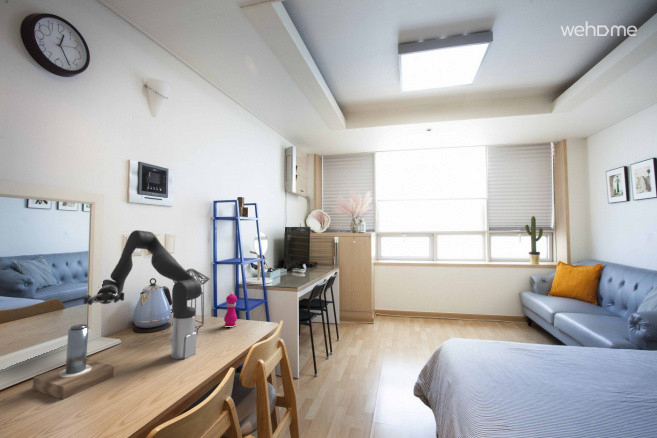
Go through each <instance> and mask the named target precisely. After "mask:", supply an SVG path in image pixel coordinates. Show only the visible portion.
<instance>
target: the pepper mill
mask: <svg viewBox="0 0 657 438" xmlns="http://www.w3.org/2000/svg"><path fill="white" fill-rule="evenodd" d="M225 301H226V307H227V310H226V313H225V315H224V317H223V321H224V322H225V323H224V327H225V326H234V325H236V326H237V320H238V316H237V313H236V311H235V310H236V308H235V307H236V304H237V303H236V302H237V301H238V299H237V295H235V294H234V292H233V291H231V292H230V294H228V295H227V296H226V298H225Z"/></svg>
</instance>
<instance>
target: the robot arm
mask: <svg viewBox="0 0 657 438" xmlns="http://www.w3.org/2000/svg"><path fill="white" fill-rule="evenodd" d="M136 249H138V250H139V249H141V250H147V251H149V252H150V254H151V255H152V256H151V260H150V261H151V263H150V264H151V266H152V267H153V268H154V269H155V271H156V272H157V273H159V275H161V276H163V277H164V278H166V279H169V280H172V281H173V280H174V281H176V283H174V284H173V286H172V290H171V291H172V292H171V309H172V316H173V317H172V321H173V326H171V327H172V329H171V330H172V331H171V346H170V347H171V348H170V357H171V358H172V359H175V360H176V359H177V360H178V359H179V360H180V359H188V358H189V357H191V356H194V355H196V351H197V336H198V335H197V334H198V333H196V332H195V331H196V328H195V327H196V321H195V320H197V308H196V309H195V307H193V306H192V307H191V306H188V301H191V300H192V301H193V300H195V299H196V300H197V299H198V298H199V297H200V296H201V293H202V292H203V287H202V285H200V284H201V283H200V282H198V280H197V278H196V277H195V276H194V277H193V276H192V274H191V273H190V274H189V273H188V272H187V271H186V270H187V269H185V268H184V267H183V266H182V265H181V264H179V262H178V261H177V260H176V258H174V256H172V255H171V253H169V251H168V250H167V248H165V247H164V245H162V243H161V242H160V240H159V239H158V237H157V235H156V234H155V233H153V232H152V231H146V230H137V229H135V230H132V231H131V233H130V234H129V235H128V237H127V240H126V243H125V245H124V248H123V250H122V252H121V255H120V258H119V260H118V262H117V264H116V265H115V267H114V269H113V270H112V272H111V274H110V279H104V280H102V281H103V284H102V288H101V289H100V290H99V291H97V294H94V295H93V296H92V295H91V294H88V295H87V294H86V296H84V297H83V304H84V305H86V304H87V305H89V306H92V304H101V305H102V304H103V305H107V304H111V303H112V302H113V303H115V304H116V303H117V302H119V301H125V292H123V291H124V285H125V282H126V280H127V278H128V276H129V274H130V272H131V271H132V269H133V254H134V251H135V250H136Z"/></svg>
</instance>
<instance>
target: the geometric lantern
mask: <svg viewBox="0 0 657 438" xmlns="http://www.w3.org/2000/svg"><path fill="white" fill-rule="evenodd" d="M185 270H186V271H187V272H188V273H189V274H190V275H192V276H193V277H194V278H195V279H196V280H197V281H198V282H199V283H200V285H201V286H202V293H201V295H200V296H201V297H200V301H201V303H200V304H201V307H200V308H201V321H199V320H197V319H196V320H195V322H197V323H199V324H201V325H197V326H196V325H195V332H196V333H197V334H198V332H199V329H201V327H203V326H204V324H205V292H204V291H205V290H204V289H205V288H204V286H205V284H206V283H207V282H208V281H210V280H211V278H210V277H209V276H207V275H205V274H202V273H201V272H199V270H196V269H194V268H188V269H185ZM172 281H173V283H174V284H175V283H176V281H174V280H172ZM190 307H193V300H190ZM194 308H195V309H196V310H197V298H196V299H194ZM171 327H173V320H172V322H171Z"/></svg>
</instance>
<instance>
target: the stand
mask: <svg viewBox="0 0 657 438" xmlns="http://www.w3.org/2000/svg"><path fill="white" fill-rule="evenodd" d="M114 369H115V367H114V365H112V364H111V365H110V364H107V363H104V362H100V361H97V360H93V359H89V358H86V369H85V370H84V371H82V372H79V373H76V374H66V373H65V371H66V365H63V366H61V367H58V368H56V369H53V370H51V371H47V372H45V373H42V374H39V375H37V376H34V377H33V381H32V383H33V384H32V390H34V391H37V392H40V393H42V394H45V395H49V396H52V397H53V398H54V397H55V398H57V399H59V400H65V399H67V398H70V397H72V396H74V395H76V394H78V393H80V392H83V391H85V390H88V389H90V388H91V387H93V386H97V385H98V384H101V383H103V382H105V381H107V380H110V379H111V378H114Z"/></svg>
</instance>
